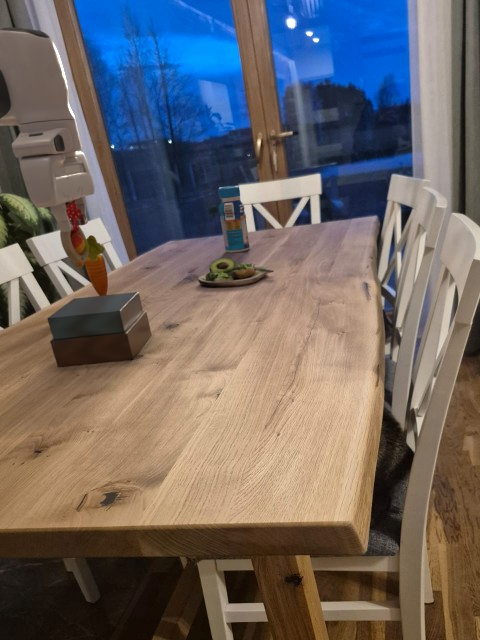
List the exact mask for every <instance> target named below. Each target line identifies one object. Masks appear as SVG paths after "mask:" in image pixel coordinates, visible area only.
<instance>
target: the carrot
mask: <svg viewBox="0 0 480 640" xmlns="http://www.w3.org/2000/svg"><path fill="white" fill-rule="evenodd" d="M97 243H98V244H100V245H101V243H100V242H97ZM84 267H85V270H86V273H87V276H88V278H89V281H90V283H91V285H92V287H93V290H94V291H95V292H96V294H98V296H104V295H108V287H109V280H108V279H109V278H108V271H107V265H106V260H105V257H104V256H103V255H102V254H99V255H98V258H97V261H92V260H91V259H90V258H89V256H88V258H87V260H86V262H84Z"/></svg>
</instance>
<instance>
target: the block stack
mask: <svg viewBox="0 0 480 640" xmlns="http://www.w3.org/2000/svg"><path fill="white" fill-rule="evenodd" d="M141 300H142V299H141V296H140V292H139V291H134V292H125V293H124V292H123V293H115V294H106V295H104V296H99V295H95V296H86V297H75V298H72V299H71V300H70V301H69V302H67V303H66V304H64V305H63V306H62V307H60V308H59V309H58V310H57V311H55V312H54V313H52V314H51V315H49V316H48V317H47V322H48V325H49V328H50V333H51V335H52V339H50V341H49V343H50V347H51V349H52V352H53V356H54V359H55V363H56V366H57V367H58V368H59V367H60V368H61V367H71V366H82V365H91V364H100V363H110V362H112V363H113V362H122V361H131V360H134V359H135V358H136V357H137V355H138V354H139V352H140V351H142V348H143V347H144V346H145V344H146V343H147V342H148V340H149V338H151V337H152V330H151V325H150V321H149V317H148V311H147V310H144V309H143V304H142V301H141Z"/></svg>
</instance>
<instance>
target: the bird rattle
mask: <svg viewBox="0 0 480 640" xmlns="http://www.w3.org/2000/svg"><path fill="white" fill-rule="evenodd" d="M65 205H66V209H67V210H66V213H67V215H68V218H69V220H71V221H72V226H73V230H71V231H69V232H61V231H60V230H59V236H60V243H61V246H62V248H63V251H64V253H65V254H66V256H67V257H68V259H69V260H70V263H72V264H73V265H74V266H75V267H76V268H83V266H85V263H84V262H86V260H87V258H88V256H89V258H90V259H91V260H92V261H97V258H98V255H99V254H100V255H102V254H103V253H104V252H105V247H104V246H103V245H101V243H100V244H98V243H99V242H98V240H97V238H96V237H95V236H94V235H92V234H89V236H88V237H87V238H86V234H85V233H84V231H83V230H82V228H81V226H78V223H77V222H76V221H77V219H78V218H79V217H80V215H81V210H80V209H77V202H76V201H72V202H71V201H70V202H68V204H65Z"/></svg>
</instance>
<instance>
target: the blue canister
mask: <svg viewBox="0 0 480 640" xmlns="http://www.w3.org/2000/svg"><path fill="white" fill-rule="evenodd" d="M217 191H218V197H219V199H220V200H221V201H220V204H219V206H218V212H219V214H220V216H219V221H220V225H221V231H222V238H223V242H224V250H225V251H224V252H226V253H228V254H229V253H230V254H231V253H232V254H233V253H242V252H247V251H249V250H250V249H251V247H250V241H249V233H248V226H247V215H246V213H245V205H244V203H243V202H242V201H241V199H240V197H241V190H240V186H239V185H227V186H222V187H221V186H220V187H219V188H218V190H217Z"/></svg>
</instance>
